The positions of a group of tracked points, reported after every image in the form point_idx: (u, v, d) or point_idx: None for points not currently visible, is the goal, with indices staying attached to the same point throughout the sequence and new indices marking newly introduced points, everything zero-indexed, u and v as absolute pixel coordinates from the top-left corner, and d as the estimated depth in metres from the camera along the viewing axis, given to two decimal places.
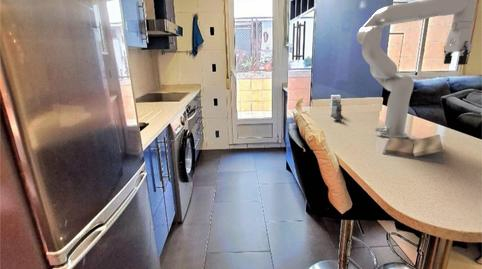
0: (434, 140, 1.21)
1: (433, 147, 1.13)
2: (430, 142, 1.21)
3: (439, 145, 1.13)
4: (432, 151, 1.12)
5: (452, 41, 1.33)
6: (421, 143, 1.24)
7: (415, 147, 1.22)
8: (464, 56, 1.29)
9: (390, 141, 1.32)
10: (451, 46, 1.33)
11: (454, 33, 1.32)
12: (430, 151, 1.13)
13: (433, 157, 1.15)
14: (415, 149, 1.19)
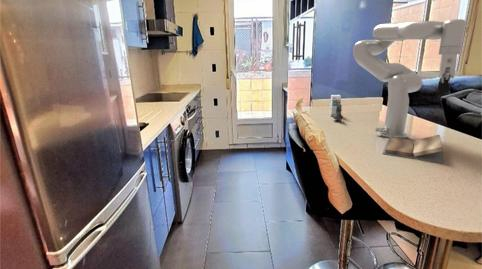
0: (434, 140, 1.21)
1: (433, 147, 1.13)
2: (430, 142, 1.21)
3: (439, 145, 1.13)
4: (432, 151, 1.12)
5: None
6: (421, 143, 1.24)
7: (415, 147, 1.22)
8: None
9: (390, 141, 1.32)
10: None
11: None
12: (430, 151, 1.13)
13: (433, 157, 1.15)
14: (415, 149, 1.19)
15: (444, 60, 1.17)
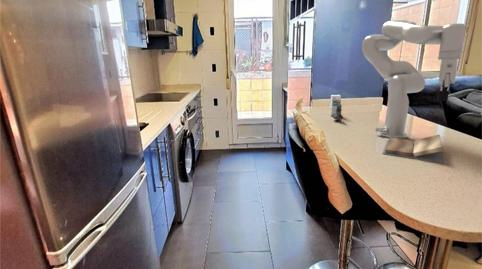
0: (434, 140, 1.21)
1: (433, 147, 1.13)
2: (430, 142, 1.21)
3: (439, 145, 1.13)
4: (432, 151, 1.12)
5: None
6: (421, 143, 1.24)
7: (415, 147, 1.22)
8: None
9: (390, 141, 1.32)
10: None
11: None
12: (430, 151, 1.13)
13: (433, 157, 1.15)
14: (415, 149, 1.19)
15: (444, 65, 1.13)
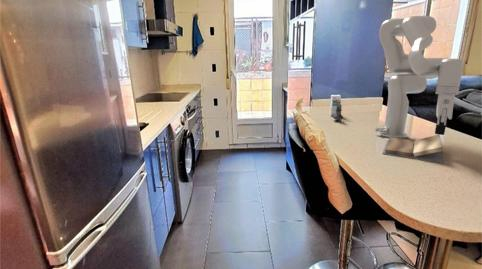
0: (434, 140, 1.21)
1: (433, 147, 1.13)
2: (430, 142, 1.21)
3: (439, 145, 1.13)
4: (432, 151, 1.12)
5: None
6: (421, 143, 1.24)
7: (415, 147, 1.22)
8: None
9: (390, 141, 1.32)
10: None
11: None
12: (430, 151, 1.13)
13: (433, 157, 1.15)
14: (415, 149, 1.19)
15: (441, 100, 1.11)
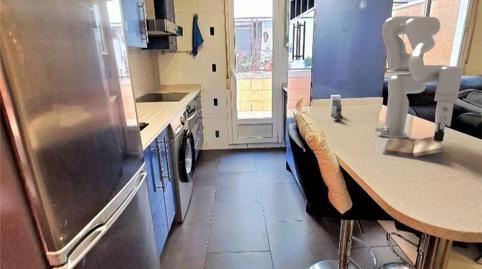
0: None
1: (433, 147, 1.13)
2: (430, 142, 1.21)
3: (439, 145, 1.13)
4: (432, 151, 1.12)
5: None
6: (421, 143, 1.24)
7: (415, 147, 1.22)
8: None
9: (390, 141, 1.32)
10: None
11: None
12: (430, 151, 1.13)
13: (433, 157, 1.15)
14: (415, 149, 1.19)
15: (440, 108, 1.12)
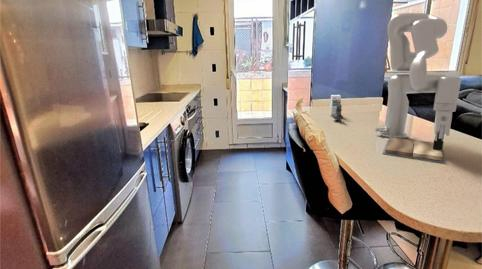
0: None
1: (434, 154, 1.14)
2: (431, 148, 1.21)
3: (440, 154, 1.13)
4: (431, 157, 1.13)
5: None
6: (421, 146, 1.24)
7: (415, 148, 1.22)
8: None
9: (390, 141, 1.32)
10: None
11: None
12: (430, 157, 1.13)
13: None
14: (415, 150, 1.19)
15: (438, 117, 1.13)
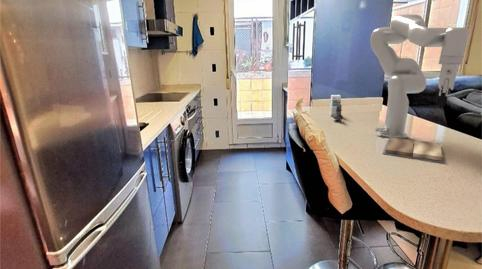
0: (435, 147, 1.22)
1: (434, 154, 1.14)
2: (431, 148, 1.21)
3: (440, 154, 1.13)
4: (431, 157, 1.13)
5: None
6: (421, 146, 1.24)
7: (415, 148, 1.22)
8: None
9: (390, 141, 1.32)
10: None
11: None
12: (430, 157, 1.13)
13: None
14: (415, 150, 1.19)
15: (443, 71, 1.11)
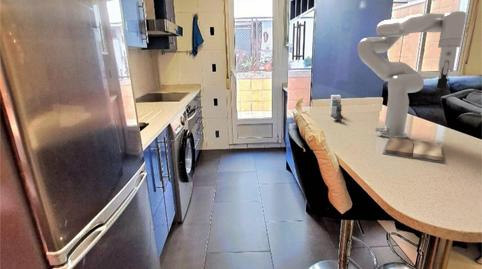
0: (435, 147, 1.22)
1: (434, 154, 1.14)
2: (431, 148, 1.21)
3: (440, 154, 1.13)
4: (431, 157, 1.13)
5: None
6: (421, 146, 1.24)
7: (415, 148, 1.22)
8: None
9: (390, 141, 1.32)
10: None
11: None
12: (430, 157, 1.13)
13: None
14: (415, 150, 1.19)
15: (443, 53, 1.15)
